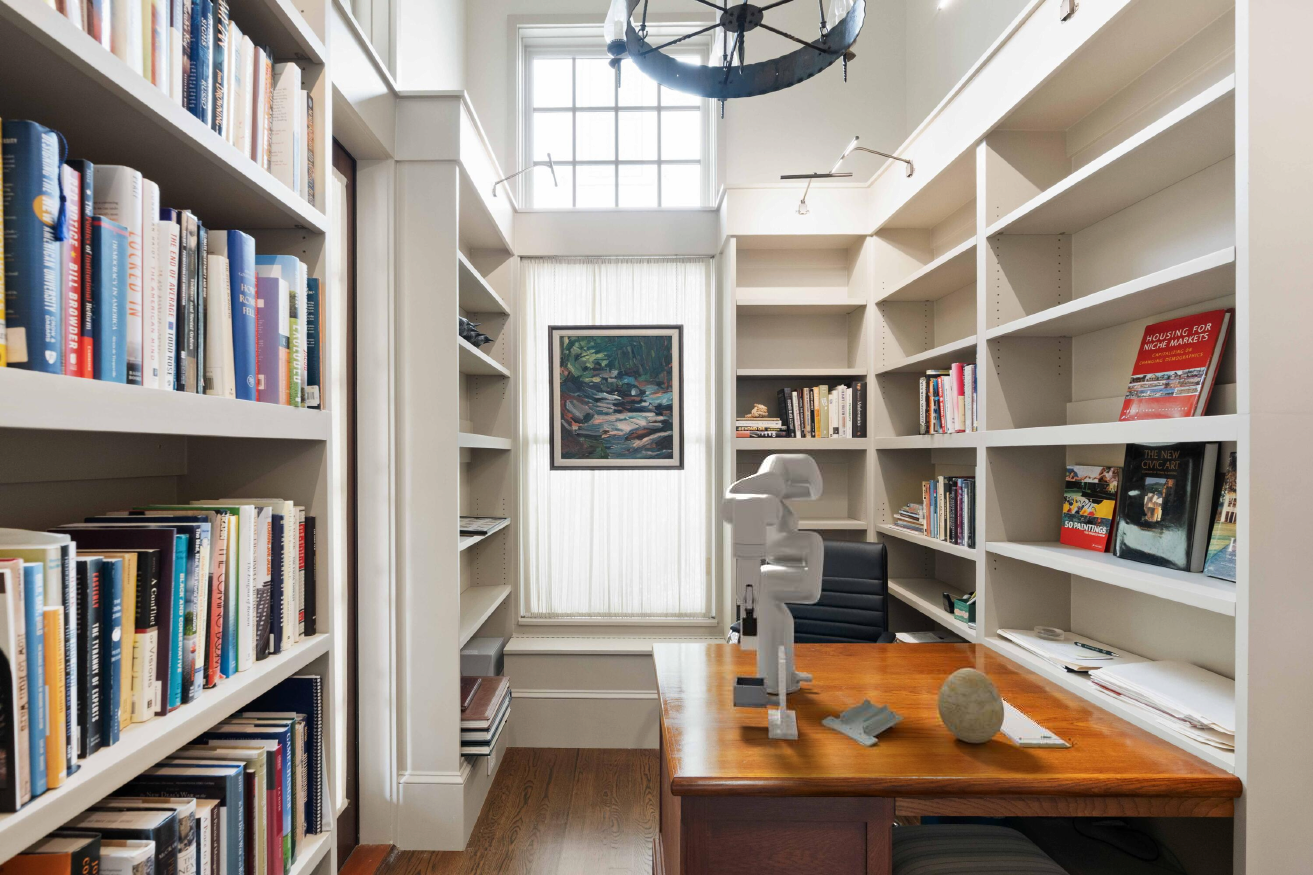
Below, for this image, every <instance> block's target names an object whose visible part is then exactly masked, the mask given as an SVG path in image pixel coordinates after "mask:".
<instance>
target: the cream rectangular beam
mask: <svg viewBox="0 0 1313 875" xmlns="http://www.w3.org/2000/svg"><path fill="white" fill-rule="evenodd" d="M745 603H747V600H745ZM752 603H753V604H754V601H752ZM739 605H740V608H739V609H740V610H739V611H740V613H739V615H740V616H739V617H740V618H739V619H740V620H739V621H740V650H742V651H743V650H744V651H745V650H746V651H757V650H759V603H758V604H756V618H757V636H743V635H742V617H743V601H742V602H740V604H739ZM752 607H753V606H752ZM753 618H754V616H753Z"/></svg>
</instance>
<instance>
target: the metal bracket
mask: <svg viewBox="0 0 1313 875" xmlns="http://www.w3.org/2000/svg"><path fill="white" fill-rule="evenodd" d="M888 708H889V707H888V704H886V703H885V704H884V705H882V706H878V705H876V704H873V703H872V702H871V700H870V699H867V698H866V699H865V700H864V701H863V702H862V703H861V704H860V705H854V706H852V707H850V708H849V709H847V710H844V711H843V712H841V713H840V715H839V717H838V718H835V717H834V716H828V717H826V718H825V719H823V720H821V722H820V723H821V724H822V725H824V726H826V727H828V728H830V729H833V730H834V731H836V732H838V731H839V733H841V734H842V733H843V734H842V735H844V734H845V735H844V736H846V735H847V736H846V737H848V738H850V739H852V740H854V741H855V742H856V741H858V742H859V743H860V744H859V743H858V742H857V743H858V744H859V745H861V744H862V745H861V746H863V745H865V746H864V747H866V746H867V748H869V747H871V746H872V745H874V744H876V743H877V742H878V741H879V740H878V739H877V738H876V737H875V736H877V735H879V734H880V733H882V732H883V731H885V730H887V729H889V728H890V727H891V728H893V727H894V725H896V724H897V723H899V722H900V721H902V720H904V717H903V716H901V715H899V714H897V713H895V711H894V710H893V709H888ZM894 728H895V727H894Z"/></svg>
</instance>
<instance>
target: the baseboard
mask: <svg viewBox="0 0 1313 875" xmlns="http://www.w3.org/2000/svg"><path fill="white" fill-rule="evenodd" d="M1001 699H1002V702H1003V706H1004V720H1003V724H1002V726H1001V728H1000V731H999V732H1000V733H1001V734H1003V735H1004V734H1005V735H1006V737H1007V738H1008V739H1009V738H1010V739H1011V740H1010V739H1009V740H1010V741H1012V742H1013V743H1014V744H1015V745H1017V747H1019V748H1069V747H1071V748H1073V747H1074V745H1077V743H1074V741H1072V742H1071V745H1070V744H1069V743H1067V742H1066V741H1064V739H1062V738H1060V737H1059V736H1057V735H1056V734H1054V733H1053V732H1052V731H1051V730H1048V728H1046V727H1044V726H1043V727H1044V728H1043V727H1041V726H1040V725H1041V724H1040V725H1038V724H1037V723H1038V722H1037V721H1036V722H1037V723H1036V722H1034V721H1035V720H1034V719H1033V720H1034V721H1033V720H1031V719H1030V718H1031V717H1030V718H1028V717H1027V716H1028V715H1027V714H1026V715H1027V716H1026V715H1024V714H1023V713H1024V712H1023V713H1021V712H1020V711H1021V710H1020V709H1019V710H1020V711H1019V710H1017V709H1018V708H1017V707H1016V708H1017V709H1016V708H1014V707H1013V706H1014V705H1013V706H1011V705H1010V704H1011V703H1010V702H1009V703H1010V704H1009V703H1007V702H1006V701H1007V700H1006V701H1004V700H1003V699H1004V698H1003V697H1002V698H1001ZM1045 728H1046V729H1045ZM1005 735H1004V736H1005ZM1071 740H1072V739H1071V737H1069V738H1068V741H1071ZM1039 746H1040V747H1039ZM1041 746H1042V747H1041Z"/></svg>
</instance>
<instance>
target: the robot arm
mask: <svg viewBox="0 0 1313 875" xmlns="http://www.w3.org/2000/svg"><path fill="white" fill-rule="evenodd" d="M823 486H824V484H823V478H822V475H821V472H820V469H819V467H818V464H817V463H816V460H815V459H814V458H813V457H812V456H811V455H809V454H806V453H775V454H771V455H769V456H767V457H766V458H765V459H764V460H763V461H762V462H761V465H760V466H759V468H758V470H757V473H756V474H752V475H751V476H748V477H746V478H742V479H740V480H738V481H736V482H734V483H733V484H731V485H730V486H729V487H728V489H727V490H726V492H725V494H724V496H723V498H722V500H721V504H720V514H721V519H722V520H723V522H724V523H726V524H728V525H730V526H732V558H733V559H737V564H736V603H737V604H738V605H740V602H742V601H743V617H742V635H743V636H757V618H756V604H758V603H759V650H756V677H765V678H767V693H768V694H773V695H774V694H775V695H776V694H777V695H779V649H778V645H780V646H784V652H785V661H786V694H791V693H796V692H797V691H799V690H800V688H801V683H802V682H803V683H813V675H812V674H808V673H807V672H798V671H796V667H795V663H794V662H795V652H794V650H795V642H794V641H795V638H794V637H795V636H794V635H795V633H794V632H795V631H794V630H795V629H794V627H795V624H794V618H793V615H792V613H791V611H790V609H789V608H788V606H787V605H786V604H787V603H789V604H803V605H804V604H806V605H813V604H816V603H817V602H818V601H819V599H820V597H821V593H822V584H823V581H822V580H823V572H824V571H823V569H824V559H825V558H824V557H825V556H824V555H825V548H824V542H823V541H824V540H823V538H822V536H820V534H819V533H817V532H815V531H810V530H809V531H807V530H806V531H805V530H799V523H800V521H799V517H798V515H797V513H796V512H795V511H794V509H793V508H792V507H791V506H790V505H789V504H787V503H786V501H785V500H787V501H788V500H789V501H790V500H791V501H814V500H818V499H819V498H820V497H821V495H822V493H823V488H824V487H823ZM762 560H766V562H768V563H769V564H764V565H762ZM745 600H747V603H745ZM752 601H754V604H753V603H752ZM785 603H786V604H785ZM752 606H753V607H752ZM753 616H754V618H753ZM800 682H801V683H800Z"/></svg>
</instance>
